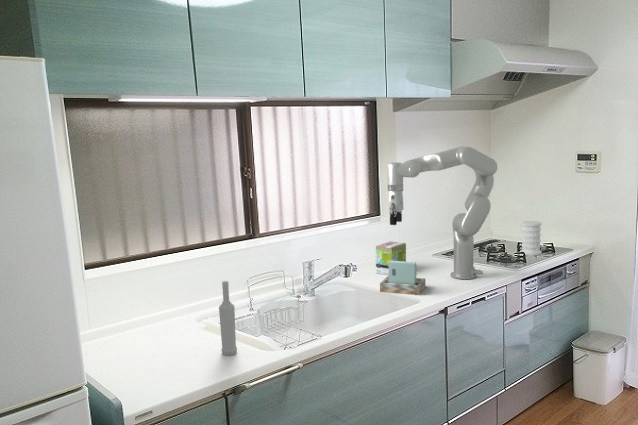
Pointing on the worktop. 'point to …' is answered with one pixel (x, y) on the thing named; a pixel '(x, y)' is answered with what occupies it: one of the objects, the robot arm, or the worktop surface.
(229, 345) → the bottle
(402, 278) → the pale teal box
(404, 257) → the tea box
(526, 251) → the decorative container
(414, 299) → the worktop surface
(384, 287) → the track base
